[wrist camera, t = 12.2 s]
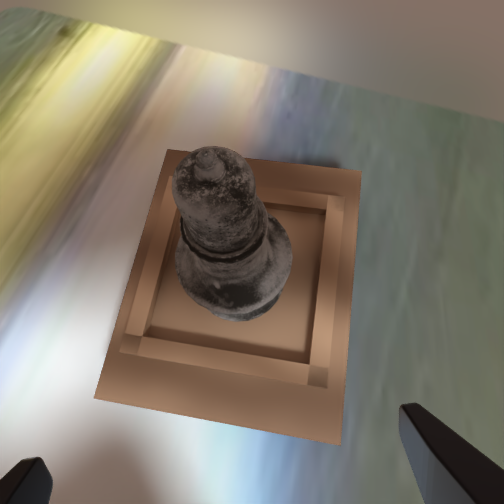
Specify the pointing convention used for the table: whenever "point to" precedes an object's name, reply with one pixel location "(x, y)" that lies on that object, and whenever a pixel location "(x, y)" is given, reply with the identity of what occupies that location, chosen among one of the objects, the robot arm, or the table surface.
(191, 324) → the walnut plinth
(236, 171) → the antique pepper shaker
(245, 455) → the table surface
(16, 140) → the table surface
